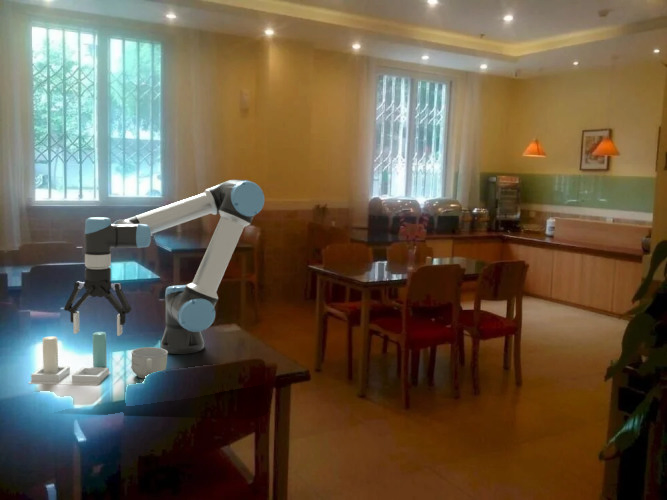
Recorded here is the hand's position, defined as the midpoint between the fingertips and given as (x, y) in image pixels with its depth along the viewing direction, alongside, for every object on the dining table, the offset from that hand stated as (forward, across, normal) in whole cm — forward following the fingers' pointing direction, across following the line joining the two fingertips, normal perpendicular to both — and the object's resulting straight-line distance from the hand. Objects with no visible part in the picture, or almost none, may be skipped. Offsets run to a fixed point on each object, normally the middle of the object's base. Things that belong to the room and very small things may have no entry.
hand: (98, 333), depth 193 cm
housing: (+12, +4, +10) cm, 16 cm away
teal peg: (+12, 0, 0) cm, 12 cm away
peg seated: (+11, +10, +10) cm, 18 cm away
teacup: (+12, -18, +5) cm, 22 cm away
